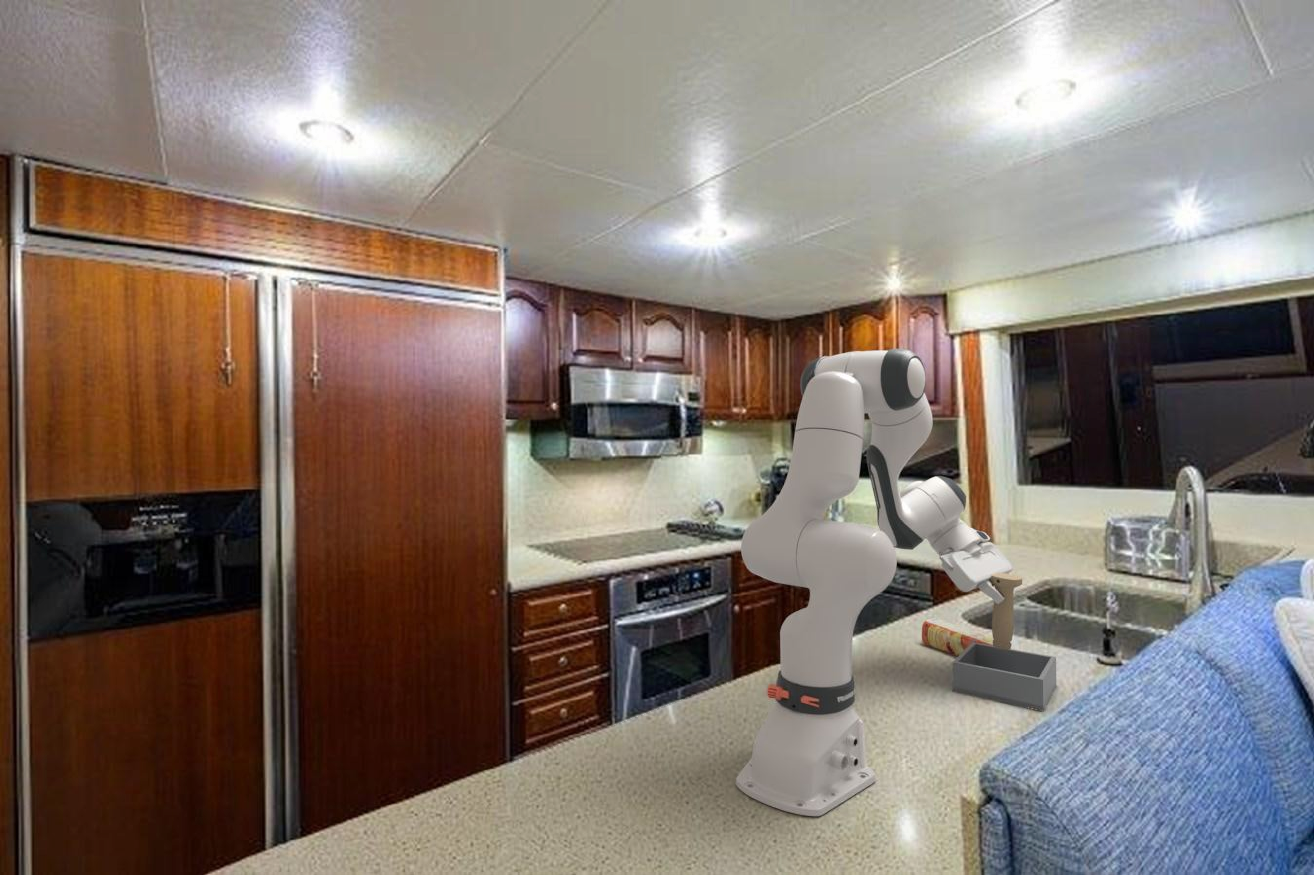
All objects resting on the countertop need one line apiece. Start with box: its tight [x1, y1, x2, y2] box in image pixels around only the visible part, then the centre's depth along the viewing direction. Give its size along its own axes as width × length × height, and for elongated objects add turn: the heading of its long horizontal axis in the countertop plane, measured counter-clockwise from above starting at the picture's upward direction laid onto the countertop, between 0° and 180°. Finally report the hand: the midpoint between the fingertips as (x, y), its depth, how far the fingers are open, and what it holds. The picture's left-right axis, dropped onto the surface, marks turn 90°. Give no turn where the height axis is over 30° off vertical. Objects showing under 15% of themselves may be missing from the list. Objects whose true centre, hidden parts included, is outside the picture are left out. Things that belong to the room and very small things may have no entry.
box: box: [952, 642, 1057, 711], centre depth 133 cm, size 16×16×6 cm
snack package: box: [921, 617, 994, 657], centre depth 153 cm, size 21×7×7 cm, turn 23°
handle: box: [989, 572, 1023, 650], centre depth 133 cm, size 5×6×15 cm
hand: (1007, 599), depth 133 cm, fingers closed on handle, 3 cm apart
